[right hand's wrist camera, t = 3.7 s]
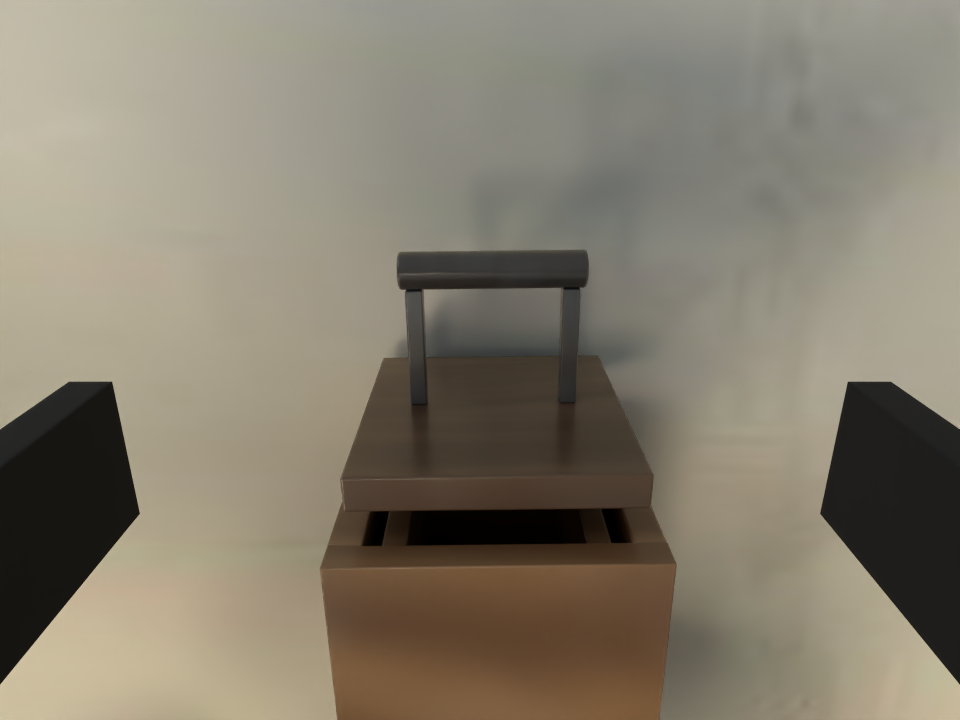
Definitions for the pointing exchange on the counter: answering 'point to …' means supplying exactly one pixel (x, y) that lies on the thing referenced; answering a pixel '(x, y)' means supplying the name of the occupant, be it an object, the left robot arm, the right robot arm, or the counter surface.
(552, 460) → the drawer
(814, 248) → the counter surface
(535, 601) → the cabinet
